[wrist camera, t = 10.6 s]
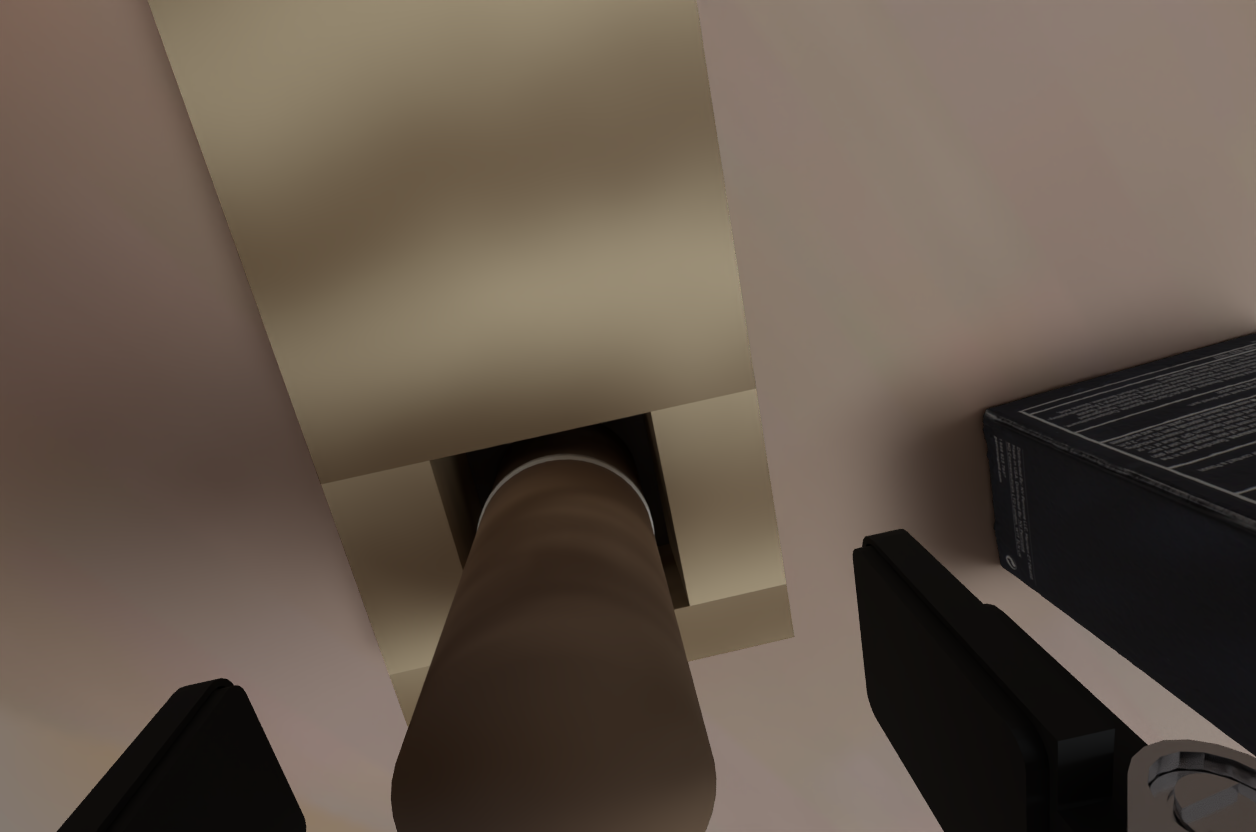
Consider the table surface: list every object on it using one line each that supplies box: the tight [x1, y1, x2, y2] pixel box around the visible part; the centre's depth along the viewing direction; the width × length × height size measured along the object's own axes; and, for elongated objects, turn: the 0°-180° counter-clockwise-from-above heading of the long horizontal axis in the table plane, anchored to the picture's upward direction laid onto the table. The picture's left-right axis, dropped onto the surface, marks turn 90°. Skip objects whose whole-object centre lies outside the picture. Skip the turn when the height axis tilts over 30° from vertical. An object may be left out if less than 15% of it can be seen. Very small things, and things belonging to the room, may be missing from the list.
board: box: [148, 0, 794, 726], centre depth 17 cm, size 20×11×4 cm, turn 12°
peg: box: [391, 423, 716, 832], centre depth 15 cm, size 4×4×12 cm
